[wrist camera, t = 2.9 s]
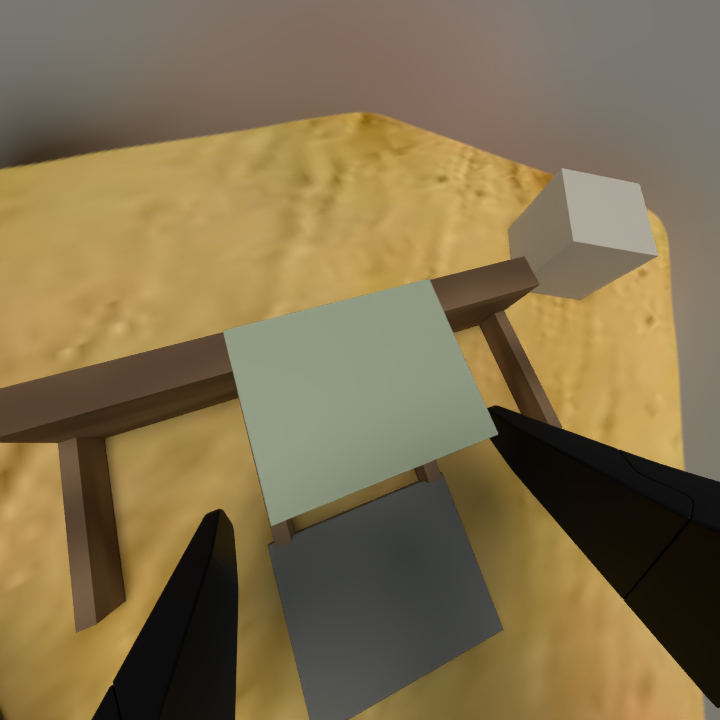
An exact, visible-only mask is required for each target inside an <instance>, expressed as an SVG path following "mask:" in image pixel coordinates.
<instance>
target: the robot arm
mask: <svg viewBox="0 0 720 720" xmlns="http://www.w3.org/2000/svg"><path fill="white" fill-rule="evenodd" d="M487 410H488V412H489V414H490V416H491V419H492V421H493V423H494V425H495V427H496V430H497V432H498V435H495V436H493V437H490V440H491V441H492V443H493V444H494V445H495V447H496V448H497V450H498V451H499V453H500V454H501V455H502V457H503V458H504V460H505V461H506V463H507V464H508V465H509V467H510V468H511V469H512V470H513V472H514V473H515V474H516V475H517V476H518V477H519V479H520V480H521V481H522V482H523V483H524V484H525V486H526V487H527V488H528V489H529V490H530V491H531V493H532V494H533V495H534V496H535V497H536V498H537V500H538V501H539V502H540V503H541V504H542V505H543V507H544V508H545V509H546V510H547V511H548V512H549V514H550V515H551V516H552V517H553V518H554V519H555V521H556V522H557V523H558V524H559V525H560V526H561V528H562V529H563V530H564V531H565V532H566V533H567V535H568V536H569V537H570V538H571V539H572V540H573V542H574V543H575V544H576V545H577V546H578V547H579V549H580V550H581V551H582V552H583V553H584V554H585V556H586V557H587V558H588V559H589V560H590V561H591V563H592V564H593V565H594V566H595V567H596V568H597V570H598V571H599V572H600V573H601V574H602V575H603V577H604V578H605V579H606V580H607V581H608V582H609V584H610V585H611V586H612V587H613V588H614V589H615V590H616V592H617V593H618V594H619V595H620V596H621V597H622V598H623V599H624V601H625V602H626V604H627V605H628V606H629V607H630V608H631V609H632V611H633V612H634V613H635V614H636V615H637V616H638V618H639V619H640V620H641V621H642V622H643V623H644V625H645V626H646V627H647V628H648V629H649V630H650V632H651V633H652V634H653V635H654V636H655V637H656V639H657V640H658V641H659V642H660V643H661V644H662V646H663V647H664V648H665V649H666V650H667V651H668V653H669V654H670V655H671V656H672V657H673V658H674V659H675V661H676V662H677V663H678V664H679V665H680V666H681V668H682V669H683V670H684V671H685V672H686V673H687V675H688V676H689V677H690V678H691V679H692V680H693V682H694V683H695V684H696V685H697V686H698V687H699V689H700V690H701V691H702V692H703V693H704V694H705V696H706V697H707V698H708V699H709V700H710V701H711V702H712V703H713V704H714V705H715V706H716V707H717V708H720V482H718V481H715V480H712V479H708V478H705V477H702V476H698V475H695V474H692V473H688V472H685V471H682V470H679V469H676V468H672V467H669V466H666V465H663V464H660V463H657V462H654V461H651V460H648V459H645V458H642V457H639V456H636V455H633V454H631V453H628V452H625V451H622V450H618V449H616V448H614V447H611V446H608V445H605V444H603V443H600V442H597V441H594V440H592V439H589V438H586V437H583V436H580V435H578V434H575V433H572V432H569V431H567V430H564V429H561V428H558V427H556V426H553V425H550V424H547V423H544V422H542V421H539V420H536V419H533V418H531V417H528V416H525V415H522V414H519V413H517V412H514V411H511V410H508V409H506V408H503V407H500V406H492V407H489V408H487ZM237 628H238V574H237V562H236V550H235V538H234V528H233V525H232V523H231V521H230V520H229V518H228V517H227V515H226V514H225V512H224V511H223V510H222V509H217V510H215V511H212V512H209V513H207V514H206V515H205V516H204V518H203V520H202V522H201V523H200V525H199V527H198V529H197V531H196V532H195V534H194V536H193V538H192V540H191V541H190V543H189V545H188V547H187V549H186V550H185V552H184V554H183V556H182V558H181V559H180V561H179V563H178V565H177V567H176V568H175V570H174V572H173V574H172V576H171V577H170V579H169V581H168V583H167V585H166V587H165V588H164V590H163V592H162V594H161V596H160V597H159V599H158V601H157V603H156V605H155V606H154V608H153V610H152V612H151V614H150V615H149V617H148V619H147V621H146V623H145V624H144V626H143V628H142V630H141V632H140V633H139V635H138V637H137V639H136V641H135V642H134V644H133V646H132V648H131V650H130V652H129V653H128V655H127V657H126V659H125V661H124V662H123V664H122V666H121V668H120V670H119V671H118V673H117V675H116V677H115V679H114V680H113V685H112V686H110V687H109V689H108V691H107V693H106V695H105V696H104V698H103V700H102V702H101V704H100V705H99V707H98V709H97V711H96V713H95V714H94V716H93V718H92V720H235V703H236V665H237Z"/></svg>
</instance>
